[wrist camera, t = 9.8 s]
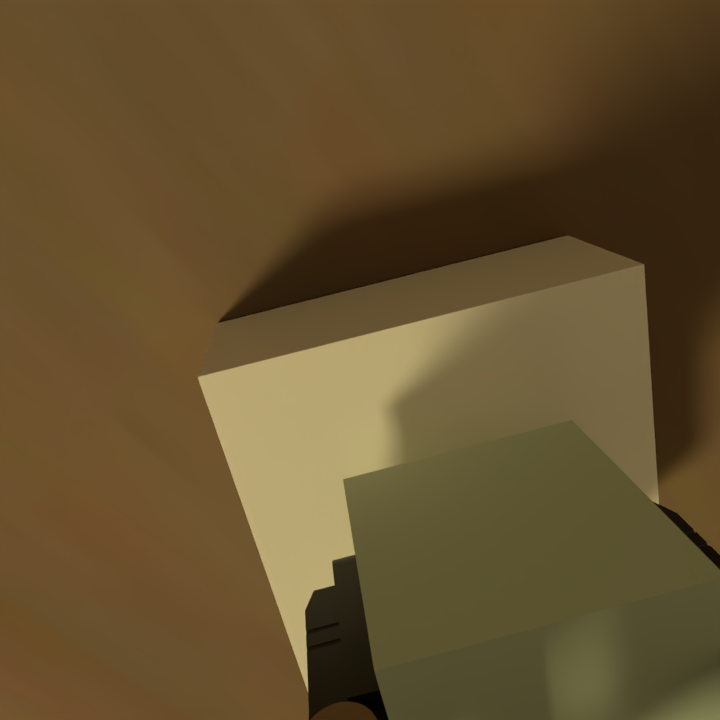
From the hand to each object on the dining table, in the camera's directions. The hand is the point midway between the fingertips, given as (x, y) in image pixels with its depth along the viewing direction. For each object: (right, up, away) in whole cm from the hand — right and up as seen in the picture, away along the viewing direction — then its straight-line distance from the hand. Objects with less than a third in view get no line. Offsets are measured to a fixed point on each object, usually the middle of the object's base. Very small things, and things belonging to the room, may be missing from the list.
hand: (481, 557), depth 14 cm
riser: (-1, +2, +5) cm, 6 cm away
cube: (0, 0, 0) cm, 0 cm away
